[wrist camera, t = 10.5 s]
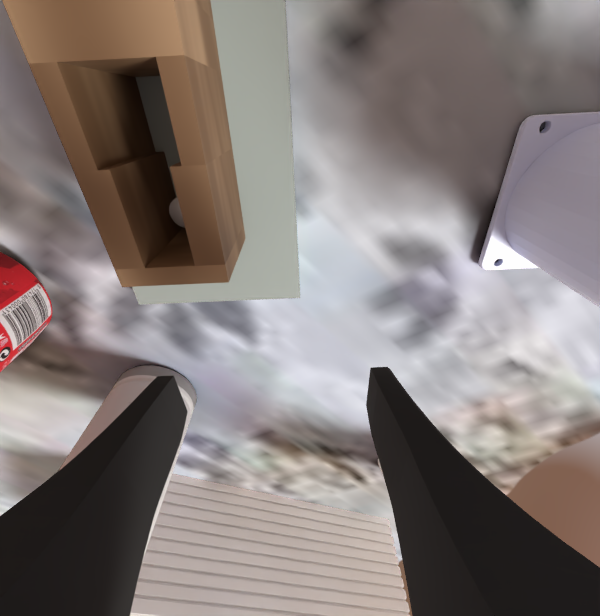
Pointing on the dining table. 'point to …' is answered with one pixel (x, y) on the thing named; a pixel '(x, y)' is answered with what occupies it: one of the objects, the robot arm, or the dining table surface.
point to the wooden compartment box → (141, 129)
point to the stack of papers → (265, 557)
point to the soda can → (20, 309)
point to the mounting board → (244, 154)
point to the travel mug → (121, 398)
